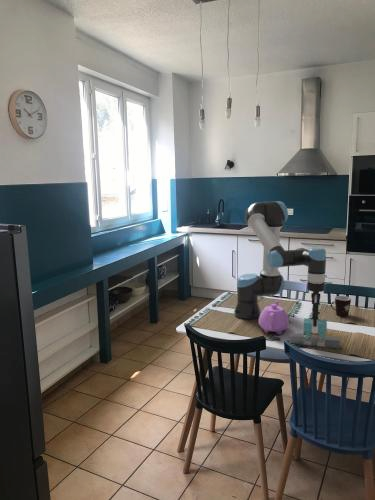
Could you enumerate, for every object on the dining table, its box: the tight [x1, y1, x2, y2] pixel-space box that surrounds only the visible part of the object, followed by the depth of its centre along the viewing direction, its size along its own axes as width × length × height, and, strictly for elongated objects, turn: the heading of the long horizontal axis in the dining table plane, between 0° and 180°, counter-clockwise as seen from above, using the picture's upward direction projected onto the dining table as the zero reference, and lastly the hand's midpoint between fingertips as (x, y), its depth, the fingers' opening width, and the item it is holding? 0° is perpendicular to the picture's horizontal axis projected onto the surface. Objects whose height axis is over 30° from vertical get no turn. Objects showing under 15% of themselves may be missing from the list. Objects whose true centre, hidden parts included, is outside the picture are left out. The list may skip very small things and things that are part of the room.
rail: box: [289, 332, 341, 350], centre depth 181 cm, size 22×4×4 cm, turn 71°
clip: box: [303, 318, 328, 340], centre depth 180 cm, size 10×6×8 cm, turn 71°
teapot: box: [258, 298, 290, 335], centre depth 200 cm, size 22×16×14 cm
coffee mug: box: [330, 295, 352, 318], centre depth 218 cm, size 12×9×10 cm
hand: (314, 329), depth 180 cm, fingers closed on clip, 6 cm apart
